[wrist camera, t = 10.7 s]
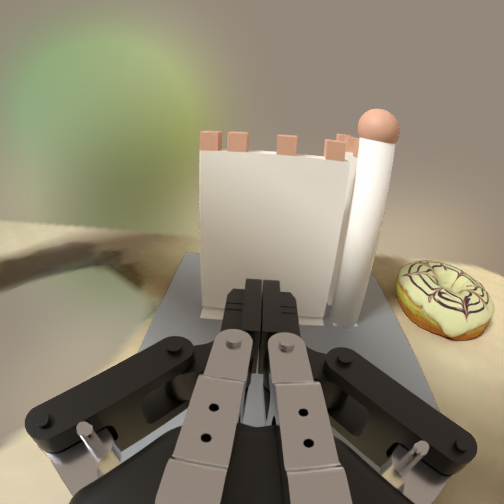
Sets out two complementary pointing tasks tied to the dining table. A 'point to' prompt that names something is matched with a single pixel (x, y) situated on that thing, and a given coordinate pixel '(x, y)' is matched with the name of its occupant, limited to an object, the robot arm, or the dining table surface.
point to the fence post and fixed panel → (362, 212)
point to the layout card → (311, 331)
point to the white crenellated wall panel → (270, 217)
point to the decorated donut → (443, 299)
